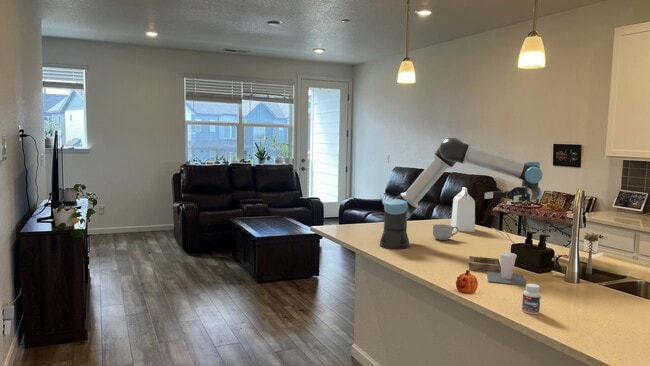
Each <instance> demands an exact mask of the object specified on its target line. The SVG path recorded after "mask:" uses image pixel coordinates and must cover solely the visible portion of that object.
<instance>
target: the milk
mask: <svg viewBox="0 0 650 366" xmlns="http://www.w3.org/2000/svg"><path fill="white" fill-rule="evenodd" d="M450 220H451V221H450V225H451V226H453V227H454V226H456V227H458V229H459V231H458V232H475V231H476V224H475V223H476V201H475V199H474V198H473V197H472V196H471V195H470V194H469V193H468V188H467V187H465V186H463V187H462V188H461V191H460V192H459V193H457V194H456V195H455V196H454V197H453V200H452V209H451V219H450ZM453 231H455V232H456V231H457V229H456V228H454V229H453Z"/></svg>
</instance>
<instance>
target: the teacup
mask: <svg viewBox="0 0 650 366" xmlns="http://www.w3.org/2000/svg"><path fill="white" fill-rule="evenodd" d="M454 228H456V229H457V231H455V232H453V231H454ZM459 232H460V231H459V229H458V227H456V226H454V227H453V226H451V224H441V223H440V224H432V236H433V237H434V238H435V239H436V240H440V241H449V240H450V238H452V237H453V236H455V235H457V234H458V233H459Z"/></svg>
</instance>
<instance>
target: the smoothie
mask: <svg viewBox="0 0 650 366" xmlns="http://www.w3.org/2000/svg"><path fill="white" fill-rule="evenodd" d="M508 247H509V249H508V250H509V251H508V252H507V251H506V252H503V251H502V252H500V253H499V255H498V256H500V259H499V260H500V273H501V277H502V278H504V279H511V277H512V274H514V273H513V271H514V267H515V263H516V259H517V254H516V253H513V252H512V250H511V249H512V243H509V245H508Z"/></svg>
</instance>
